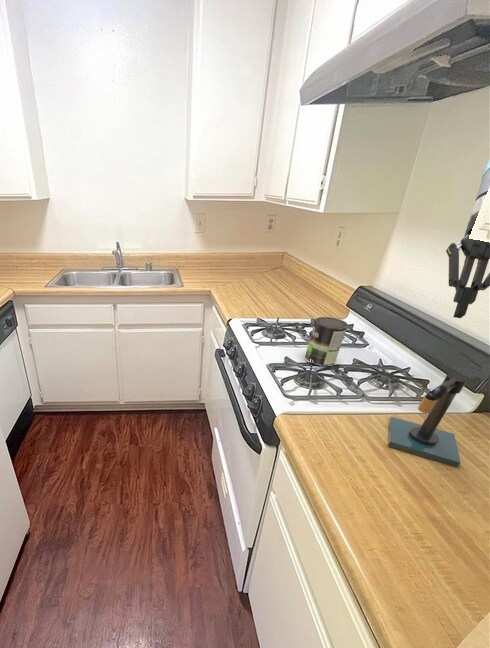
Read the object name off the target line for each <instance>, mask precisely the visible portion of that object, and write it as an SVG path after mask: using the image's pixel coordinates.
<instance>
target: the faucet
mask: <svg viewBox="0 0 490 648" xmlns="http://www.w3.org/2000/svg"><path fill="white" fill-rule="evenodd" d="M456 395H457V394H454V393H449V392H448V393H446V394H445V395H443V396H442V397H441V398H439V399H438V400H437V401H436V403H435V405H434V407H433V408H432V410H431V412H430V413H427V415H426V416H425V418H424V420H423V422H422V424H420V423H416V422H412V421H409V420H405V419H402V418H398V417H395V416H390V417H389V419H388V426H387V427H388V430H387V447H390V448H392V449H396V450H399V451H403V452H405V453H409V454H412V455H414V456H419V457H422V458H426V459H429V460H431V461H435V462H438V463H442V464H445V465H448V466H452V467H454V468H459V466H460V465H461V463H462V461H461V458H460V453H459V449H458V444H457V440H456V435H455V433H453V432H449V431H446V430H443V429H442V430H441V429H438V426H439V425H440V423H441V421H442V420H443V418H444V417H445V415H446V413H447V411H448V409H449V408H450V406H451V405H452V403H453V402H454V399H455V397H456Z"/></svg>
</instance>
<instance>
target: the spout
mask: <svg viewBox="0 0 490 648" xmlns="http://www.w3.org/2000/svg"><path fill="white" fill-rule="evenodd" d="M467 382H468V380H467V378H466V377H465V376H462V375H459V374H456V373H447V374H446V376H445V378H444V379H443V381H442V383H441V384H439V385H438V386H436V387H435V388H434V389H432V390H430V391H429V392H428V393H426V394H425V395H424V396H423V398H422V400H421V401H420V402H419V405H418V407H417V410H418V411H419V412H421V413H424V414H428V413H430V412H431V410H432V408H433V407H434V405H435V403H436V401H437V400H438V399H439V398H441V397H442V396H443V395H445V394H446V393H448V392H449V393H454V394H456V395H457V394H460V393H461V392H462V390H463V388H464V386H465V385H466V383H467Z"/></svg>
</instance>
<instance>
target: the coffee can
mask: <svg viewBox="0 0 490 648" xmlns="http://www.w3.org/2000/svg"><path fill="white" fill-rule="evenodd" d="M348 327H349V324H348V323H347V322H346V321H344V320H342V319H340V318H336V317H330V316H321V317H316V318H315V319H314V321H313V326H312V331H311V333H310V336H309V337H310V338H309V341H308V345H307V349H306V352H305V354H304V361H306V362H307V363H308V364H310V363H309V362H310V359H311V357H312V360H313V362H314V363H318V364H321V365H334V366H335V365H336V362H337V358H338V356H339V352H340V349H341V346H342V344H343V340H344V337H345V335H346V331H347V330H348Z"/></svg>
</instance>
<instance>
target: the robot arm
mask: <svg viewBox="0 0 490 648" xmlns="http://www.w3.org/2000/svg"><path fill="white" fill-rule="evenodd" d="M489 187H490V159H489V160H488V162H487V165H486V167H485V170H484V173H483V174H482V176H481V181H480V184H479V187H478V191H477V195H476V198H475V201H474V204H473V208H472V210H471V213H470V216H469V220H468V223H467V225H466V229H465V231H464V236H463V237H462V238H461V240H460V241H459V242H456V243H455V242H452V243H450V244H449V246H448V247H447V248H446V250H445V252H446V255H447V257H448V286H449V287H451V288H452V287H453V288H454V289H455V293H454V297H453V301H452V302H453V303H456V307H455V310H454V314H453V318H455V319H462V318H463V317H464V316H466V315H467V311H468V307H469V305H472V304H473V303H475V301H476V299H477V296H478V293H479V291H485V290H487V289H488V288H489V287H490V272H489V273H488V274H487V276H486V277H485V279H484V276H485V273H486V270H487V267H488V264H489V261H490V243H489V242H484V241H480V240H473V239H469V235H470V234H471V231H472V228H473V226H474V224H475V221H476V218H477V216H478V213H479V211H480V209H481V206H482V203H483V200H484V199H485V196H486V194H487V192H488V189H489ZM460 250H461V251H462V252H463V255H464V256H465V258H464V262H463V266H462V269H461V273H460ZM476 260H477V263H476V264H477V265H476V268H475V271H474V275H473V278H472V280H471V284H470V286H467V285H468V283H469V279H470V277H471V273H472V270H473V267H474V264H475V261H476Z"/></svg>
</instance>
